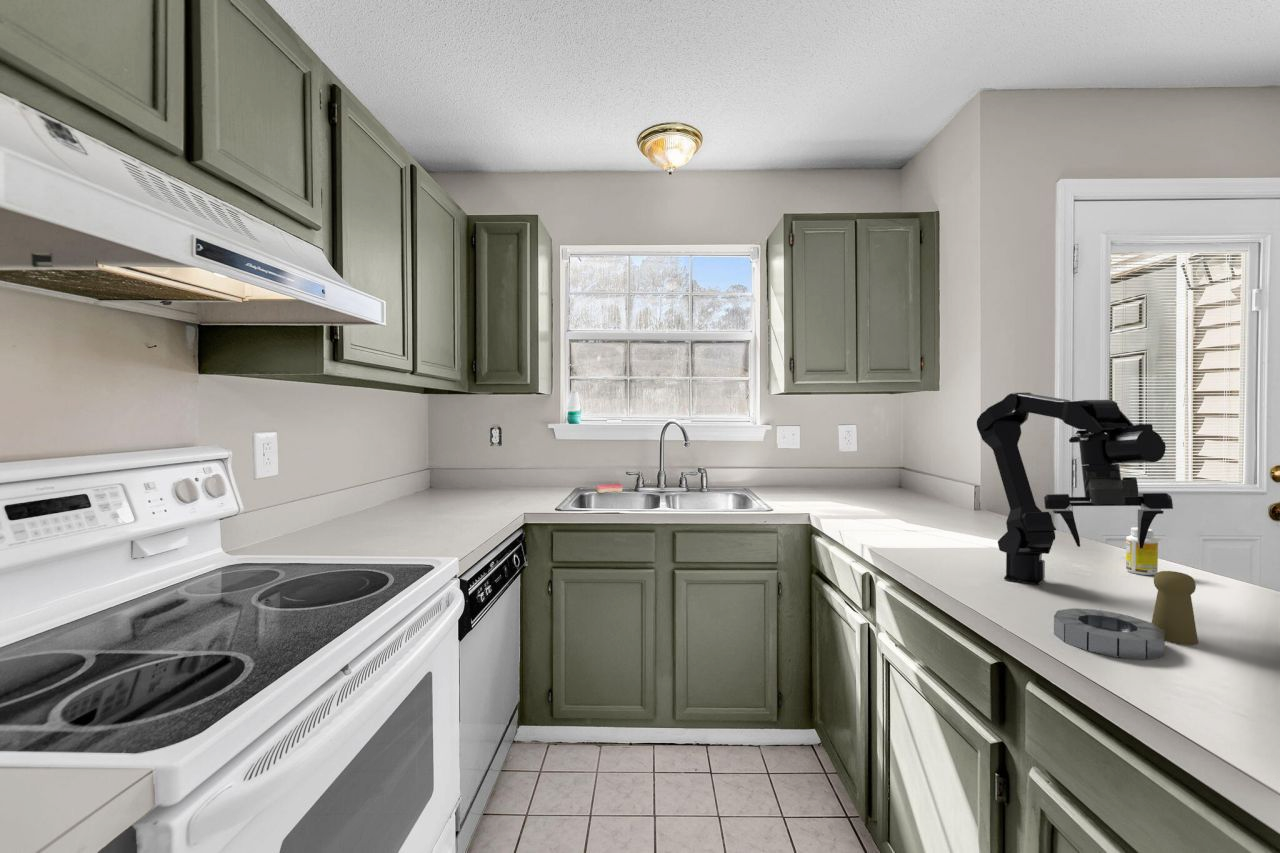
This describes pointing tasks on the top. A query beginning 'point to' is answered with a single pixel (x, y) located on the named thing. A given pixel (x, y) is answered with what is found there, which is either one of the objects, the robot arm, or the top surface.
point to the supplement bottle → (1142, 554)
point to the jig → (1109, 633)
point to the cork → (1175, 607)
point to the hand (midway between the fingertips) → (1109, 547)
